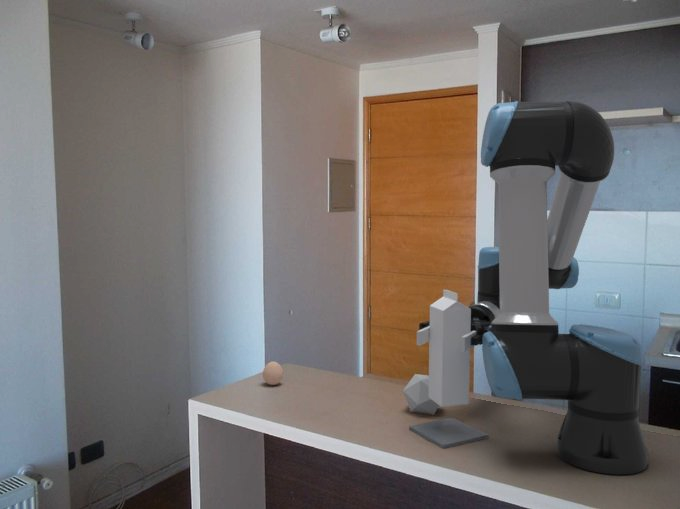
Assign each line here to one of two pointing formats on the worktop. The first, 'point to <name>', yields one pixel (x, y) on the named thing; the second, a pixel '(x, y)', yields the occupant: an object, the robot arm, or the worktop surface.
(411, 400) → the die
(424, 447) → the worktop surface
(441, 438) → the coaster
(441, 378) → the milk
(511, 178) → the robot arm
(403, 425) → the worktop surface
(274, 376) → the egg
